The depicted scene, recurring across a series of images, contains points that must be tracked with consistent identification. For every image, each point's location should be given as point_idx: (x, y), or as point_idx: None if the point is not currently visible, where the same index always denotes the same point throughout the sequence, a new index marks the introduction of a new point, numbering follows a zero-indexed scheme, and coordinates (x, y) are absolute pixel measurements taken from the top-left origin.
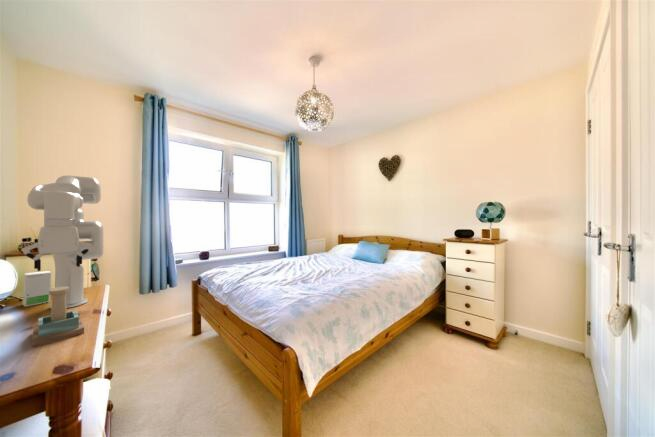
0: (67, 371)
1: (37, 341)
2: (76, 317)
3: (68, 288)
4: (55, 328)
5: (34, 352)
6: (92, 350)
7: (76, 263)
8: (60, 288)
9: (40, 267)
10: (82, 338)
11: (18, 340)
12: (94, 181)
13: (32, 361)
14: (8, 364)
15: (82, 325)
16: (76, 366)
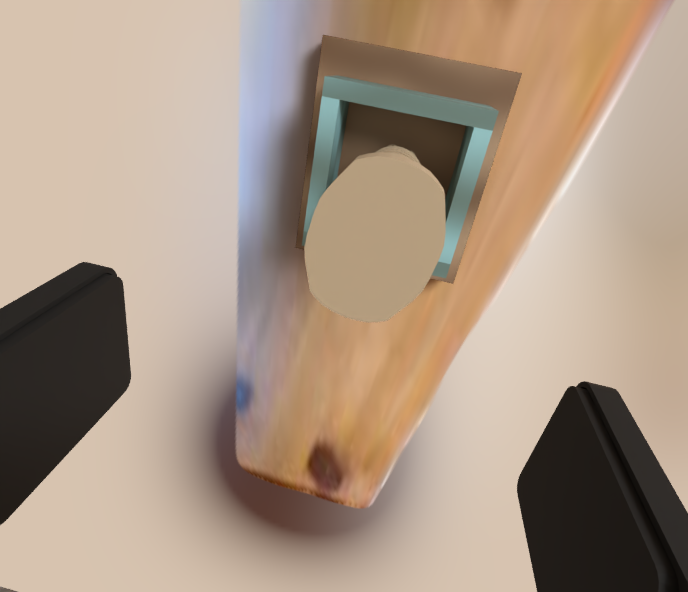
0: (327, 485)
1: None
2: (438, 273)
3: (424, 285)
4: None
5: (299, 298)
6: (401, 440)
7: (566, 450)
8: (380, 246)
9: (97, 418)
10: (425, 323)
11: (276, 89)
12: None
13: (286, 361)
14: (242, 321)
15: (464, 244)
16: (346, 482)
